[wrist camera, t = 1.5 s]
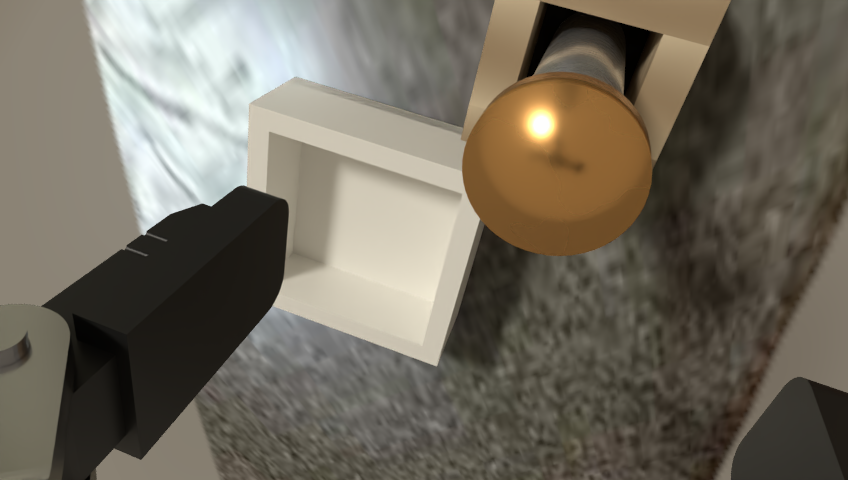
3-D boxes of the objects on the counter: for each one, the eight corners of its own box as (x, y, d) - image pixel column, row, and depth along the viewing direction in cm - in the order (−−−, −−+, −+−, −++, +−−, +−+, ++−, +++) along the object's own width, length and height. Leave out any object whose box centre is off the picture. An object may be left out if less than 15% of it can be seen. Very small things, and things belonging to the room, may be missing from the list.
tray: (295, 76, 29) (249, 103, 26) (509, 142, 28) (491, 180, 24) (282, 253, 35) (244, 295, 32) (457, 315, 34) (436, 366, 30)
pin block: (529, -69, 23) (509, -59, 19) (715, -22, 22) (731, -2, 18) (484, 104, 27) (460, 139, 23) (639, 150, 26) (640, 195, 22)
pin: (553, -22, 24) (486, 59, 13) (662, 7, 23) (686, 116, 12) (522, 83, 26) (445, 223, 16) (620, 112, 26) (609, 278, 15)
